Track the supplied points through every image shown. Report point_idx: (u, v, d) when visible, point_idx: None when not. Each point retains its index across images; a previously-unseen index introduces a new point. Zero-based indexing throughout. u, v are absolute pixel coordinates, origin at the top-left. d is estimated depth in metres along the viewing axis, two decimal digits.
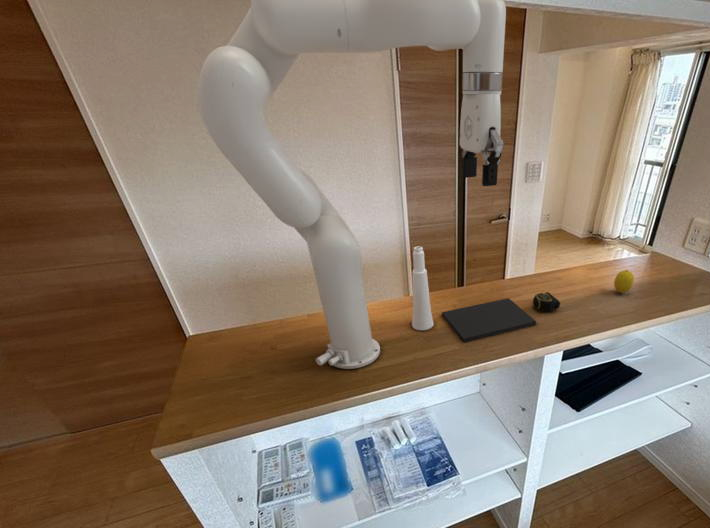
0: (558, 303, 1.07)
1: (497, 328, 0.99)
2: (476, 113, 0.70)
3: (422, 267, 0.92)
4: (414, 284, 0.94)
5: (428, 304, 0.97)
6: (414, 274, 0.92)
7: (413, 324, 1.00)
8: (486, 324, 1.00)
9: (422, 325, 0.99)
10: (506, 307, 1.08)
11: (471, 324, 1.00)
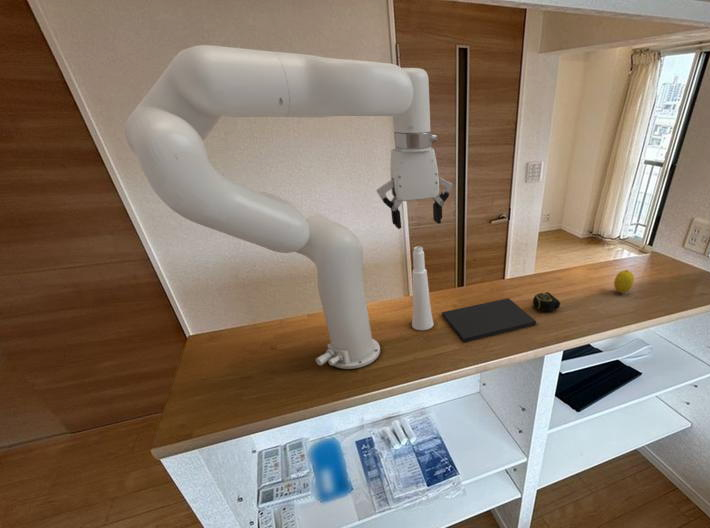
0: (558, 303, 1.07)
1: (497, 328, 0.99)
2: None
3: (422, 267, 0.92)
4: (414, 284, 0.94)
5: (428, 304, 0.97)
6: (414, 274, 0.92)
7: (413, 324, 1.00)
8: (486, 324, 1.00)
9: (422, 325, 0.99)
10: (506, 307, 1.08)
11: (471, 324, 1.00)
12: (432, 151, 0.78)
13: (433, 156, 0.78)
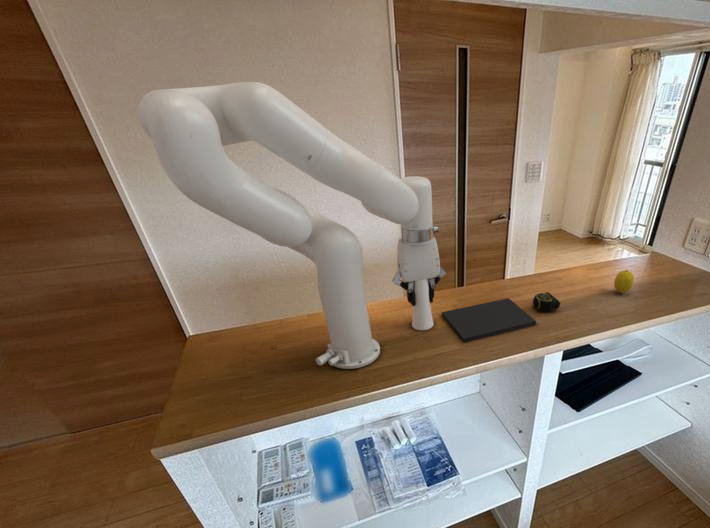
0: (558, 303, 1.07)
1: (497, 328, 0.99)
2: None
3: None
4: (414, 284, 0.94)
5: (428, 304, 0.97)
6: None
7: (413, 324, 1.00)
8: (486, 324, 1.00)
9: (422, 325, 0.99)
10: (506, 307, 1.08)
11: (471, 324, 1.00)
12: (434, 241, 0.88)
13: (435, 245, 0.89)
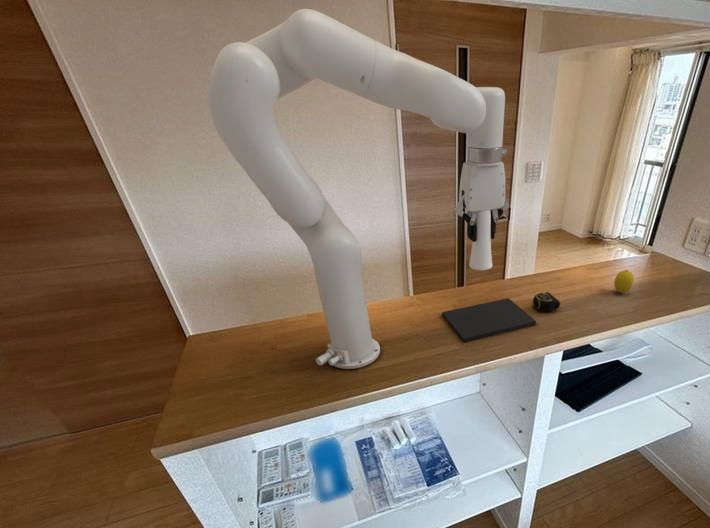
0: (558, 303, 1.07)
1: (497, 328, 0.99)
2: None
3: None
4: (477, 216, 0.86)
5: (489, 240, 0.90)
6: None
7: (471, 264, 0.93)
8: (486, 324, 1.00)
9: (482, 264, 0.92)
10: (506, 307, 1.08)
11: (471, 324, 1.00)
12: (502, 165, 0.81)
13: (503, 169, 0.82)
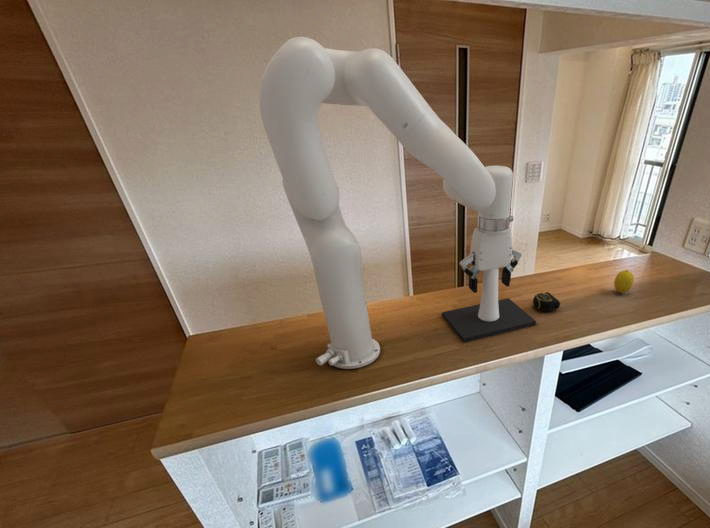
0: (558, 303, 1.07)
1: (497, 328, 0.99)
2: None
3: None
4: (486, 275, 0.95)
5: (497, 295, 0.99)
6: None
7: (480, 315, 1.02)
8: (486, 324, 1.00)
9: (490, 316, 1.01)
10: (506, 307, 1.08)
11: (471, 324, 1.00)
12: (509, 230, 0.90)
13: (510, 234, 0.90)
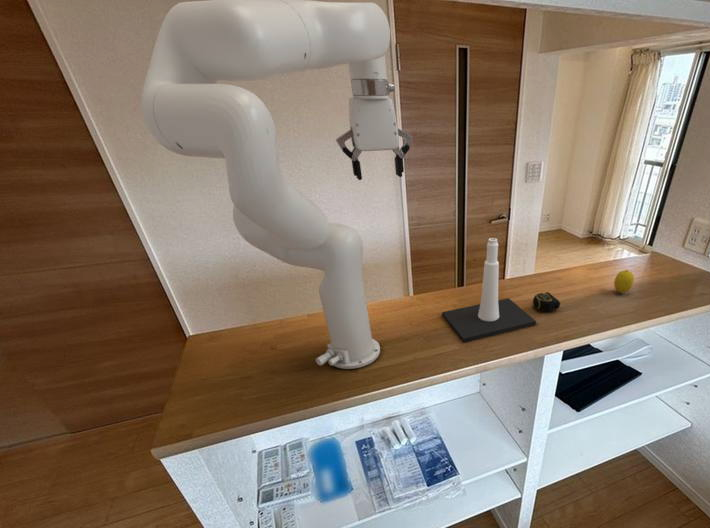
0: (558, 303, 1.07)
1: (497, 328, 0.99)
2: None
3: (495, 258, 0.93)
4: (486, 275, 0.95)
5: (497, 295, 0.99)
6: (487, 265, 0.94)
7: (480, 315, 1.02)
8: (486, 324, 1.00)
9: (490, 316, 1.01)
10: (506, 307, 1.08)
11: (471, 324, 1.00)
12: (389, 100, 0.79)
13: (390, 105, 0.80)
